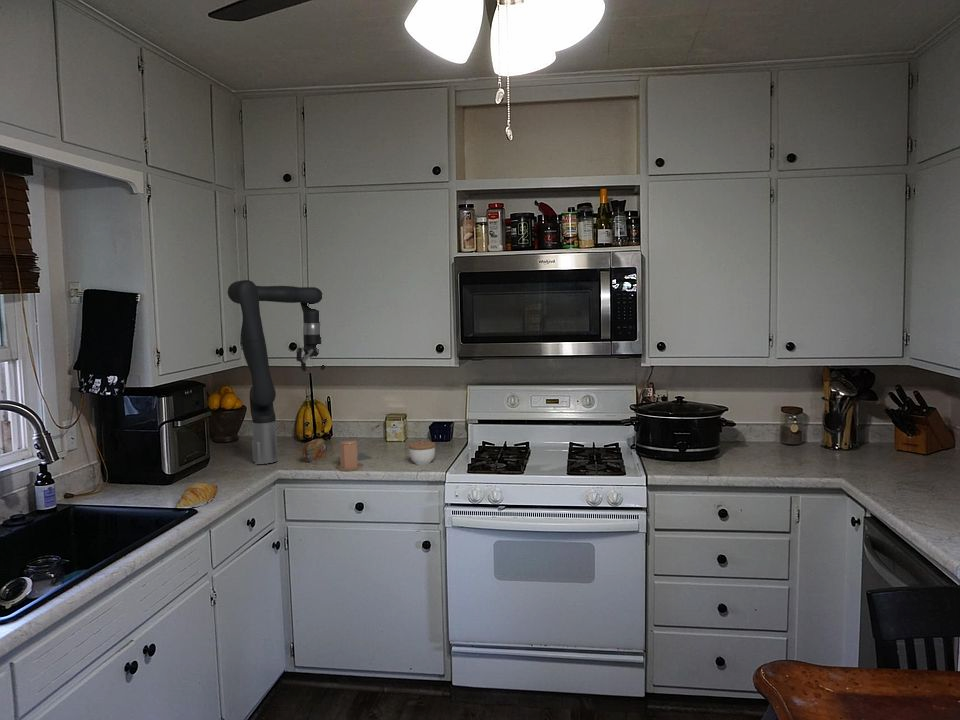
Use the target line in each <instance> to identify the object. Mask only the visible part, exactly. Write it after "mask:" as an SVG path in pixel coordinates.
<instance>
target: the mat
mask: <svg viewBox="0 0 960 720" xmlns="http://www.w3.org/2000/svg"><path fill="white" fill-rule="evenodd" d="M335 459H337V460H338V461H341V460H340V456H337V457H335ZM371 459H374V457H373V456H370V455H366V454H364V453H360V452H359V453H358V462H361V461H364V460H366V461H367V460H371Z"/></svg>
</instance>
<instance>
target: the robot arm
mask: <svg viewBox="0 0 960 720" xmlns="http://www.w3.org/2000/svg"><path fill="white" fill-rule="evenodd" d="M322 295H323V292H322V290H320V289H319V288H318V287H315V286H312V287H311V286H309V287H307V286H303V287H302V286H293V285H270V286H269V285H264V286H263V285H256V284H255V282H253V280H248V279H244V280H243V279H242V280H237V281H234V282H232V283H231V284H230V285H229V286H228V289H227V296H228V297H229V299H230V301H232V302H233V303H235V304H239V305H240V309H241V314H242V322H241V328H240V342H241V347H242V348H241V350H242V352H243V353H242V354H243V356H244V360H245V362H246V364H247V367H248V370H249V372H250V375H251V382H252V386H251V387H250V389H249V408H250V416H251V422H252V423H251V424H252V436H253V437H252V440H251V454H252V462H253V461H254V462H256V463H258V464H259V463H273V462H276V461H278V462H279V458H278V457H279V456H278V455H279V454H278V453H279V452H278V440H277V439H278V436H277V421H276V420H277V419H276V412H275V409H274V402H275V400H276V394H277V393H276V388H275V386H274V382H273V380H272V375H271V372H270V371H271V370H270V365H269V356H268V349H267V342H266V338H265V334H264V327H263V322H262V317H261V309H260V308H261V307H260V302H273V303H284V304H285V303H286V304H287V303H288V304H289V303H290V304H295V303H296V304H297V303H299V304H300V307H301V309H302V313H303V314H302V315H303V326H302V333H303V334H302V335H303V337H302V339H303V347H299V346H298V347H296V361H297V362H299V363H300V369H301V370H302V372H306V371H307V365H306V364H307V363H306V361H307V360H308V359H309V358H313V357H315V358H316V357H317V355H318V354H319V349H317V348H316V345H317V344H321V345H322V336H321V337H320V326H321V321H320V322H319V312H320V310H318V309H317V308H316V309H317V310H316V309H311V308H309V307H308V306H307V303H309V304H318V303H319V302H321V301H322V299H323V297H322ZM303 352H304V353H303ZM317 358H318V357H317ZM319 366H320V365H319ZM319 369H320V370H321V371H322V370H323V371H324V370H325V369H326V365H325V366H324V365H322V366H320V367H319ZM276 463H277V462H276ZM273 464H274V463H273Z"/></svg>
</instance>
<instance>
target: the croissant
mask: <svg viewBox="0 0 960 720" xmlns="http://www.w3.org/2000/svg"><path fill="white" fill-rule="evenodd" d="M218 491H219V489H218V485H214V484H209V483H207V482H203V481H202V482H196V483H193V484H190V485H188V486H187V487H186V488H185V489H184V491H183V492H182V495H181V496H180V498H179V499H178V501H177V504H176V505H175V508H176V507H184V506H192V505H197V504H200V503H203V502H208V501H209V500H210V499H212V498H213V497H214V498H215V497H216V495H217V494H218ZM216 493H217V494H216ZM214 498H213V499H214Z"/></svg>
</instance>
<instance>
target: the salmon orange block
mask: <svg viewBox="0 0 960 720" xmlns="http://www.w3.org/2000/svg"><path fill="white" fill-rule="evenodd" d="M339 457H340V460H339V461H340V464H341V468H355V467H357V466H358V463H359V461H358V441H357V440H356V439H345V440H341V441H340V442H339Z"/></svg>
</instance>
